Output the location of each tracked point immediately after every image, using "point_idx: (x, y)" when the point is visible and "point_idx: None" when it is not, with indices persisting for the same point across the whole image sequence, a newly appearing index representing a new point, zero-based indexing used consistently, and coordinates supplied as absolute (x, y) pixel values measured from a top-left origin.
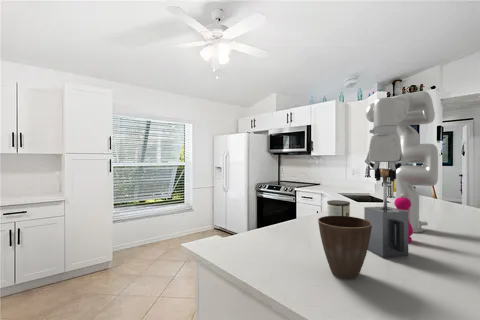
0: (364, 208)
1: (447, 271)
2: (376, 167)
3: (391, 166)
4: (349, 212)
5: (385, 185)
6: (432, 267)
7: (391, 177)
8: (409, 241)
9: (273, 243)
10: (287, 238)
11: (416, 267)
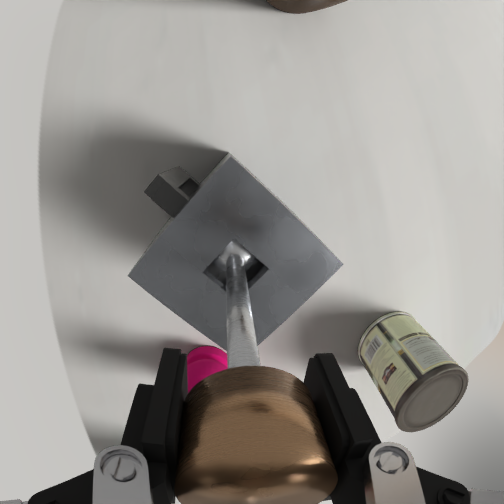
0: (340, 261)
1: (80, 170)
2: (380, 475)
3: (148, 502)
4: (384, 389)
5: (238, 344)
6: (108, 173)
7: (167, 374)
8: (187, 355)
9: (494, 107)
10: (487, 168)
11: (140, 142)
